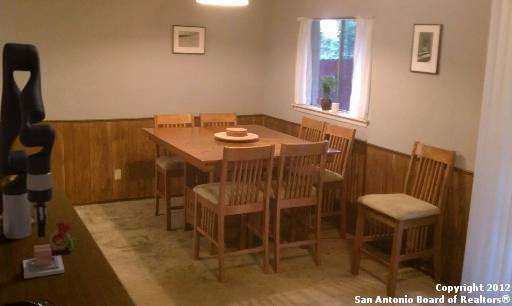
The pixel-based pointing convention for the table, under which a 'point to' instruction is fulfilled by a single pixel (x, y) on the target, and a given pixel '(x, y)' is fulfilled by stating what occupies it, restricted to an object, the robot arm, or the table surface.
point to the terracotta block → (43, 256)
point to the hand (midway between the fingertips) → (41, 236)
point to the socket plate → (43, 268)
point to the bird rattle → (59, 239)
